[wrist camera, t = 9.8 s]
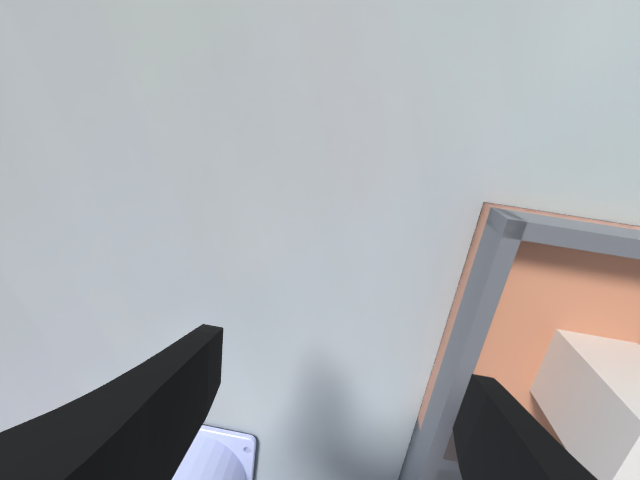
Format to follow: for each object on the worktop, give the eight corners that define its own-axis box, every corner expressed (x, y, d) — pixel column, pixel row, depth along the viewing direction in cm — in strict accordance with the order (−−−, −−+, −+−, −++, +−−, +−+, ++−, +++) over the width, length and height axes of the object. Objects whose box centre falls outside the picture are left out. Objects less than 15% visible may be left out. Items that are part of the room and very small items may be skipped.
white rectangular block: (604, 403, 19) (706, 524, 13) (529, 389, 19) (598, 502, 14) (637, 343, 18) (765, 448, 12) (556, 328, 18) (645, 426, 12)
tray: (562, 595, 26) (586, 653, 23) (375, 554, 27) (377, 606, 24) (786, 249, 16) (874, 277, 14) (483, 201, 17) (507, 218, 14)
